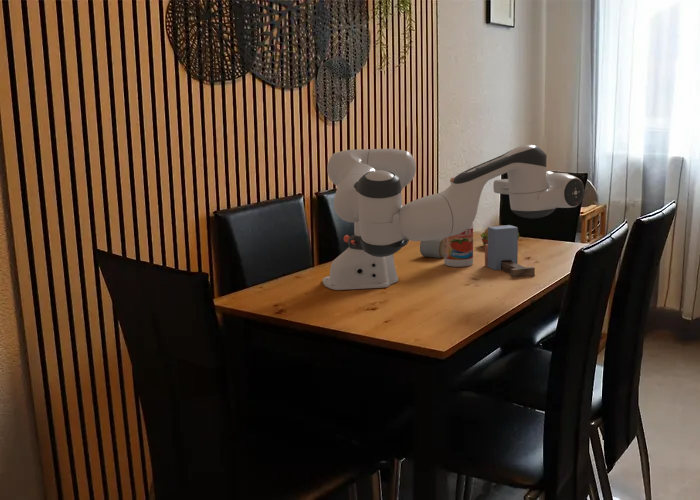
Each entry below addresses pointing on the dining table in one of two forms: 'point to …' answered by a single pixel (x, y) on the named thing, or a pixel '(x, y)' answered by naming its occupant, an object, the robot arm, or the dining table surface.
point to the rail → (512, 267)
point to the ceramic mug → (432, 248)
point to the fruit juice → (459, 248)
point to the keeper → (502, 245)
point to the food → (485, 235)
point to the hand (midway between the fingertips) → (515, 182)
